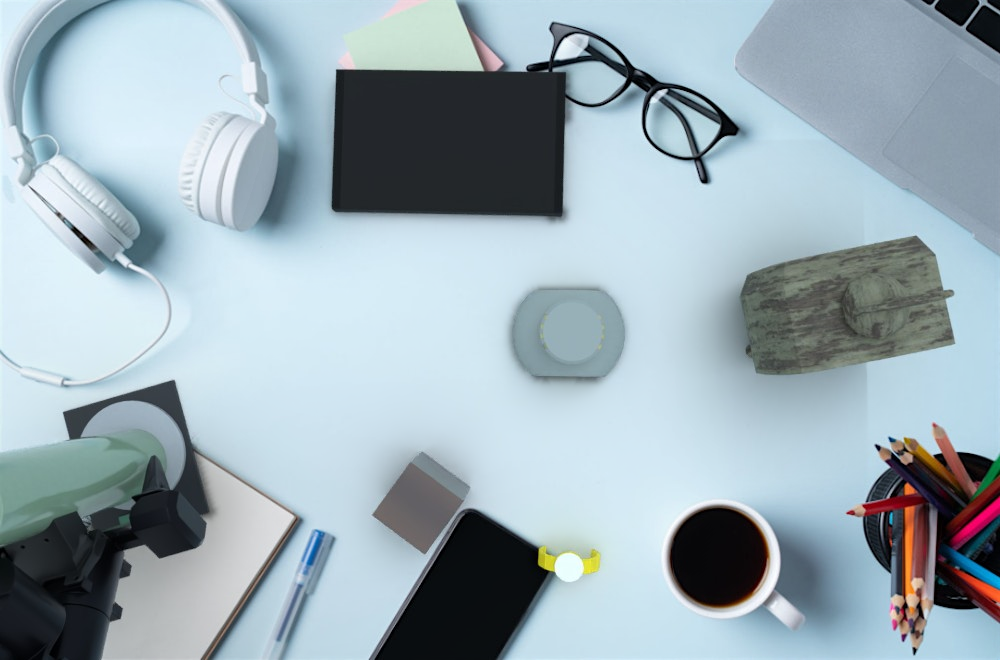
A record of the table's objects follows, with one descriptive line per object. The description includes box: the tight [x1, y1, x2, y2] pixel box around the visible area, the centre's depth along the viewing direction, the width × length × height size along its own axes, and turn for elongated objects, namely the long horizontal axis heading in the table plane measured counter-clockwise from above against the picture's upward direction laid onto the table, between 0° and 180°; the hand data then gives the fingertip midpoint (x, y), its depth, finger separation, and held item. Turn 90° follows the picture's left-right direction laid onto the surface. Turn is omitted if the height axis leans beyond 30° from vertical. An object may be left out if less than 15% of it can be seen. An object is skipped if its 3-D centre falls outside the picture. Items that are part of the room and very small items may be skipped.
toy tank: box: [739, 235, 956, 376], centre depth 66 cm, size 14×9×25 cm, turn 101°
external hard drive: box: [331, 68, 567, 217], centre depth 79 cm, size 14×23×3 cm, turn 88°
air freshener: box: [512, 289, 626, 378], centre depth 75 cm, size 11×8×10 cm
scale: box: [62, 379, 211, 530], centre depth 80 cm, size 14×12×2 cm
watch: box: [537, 545, 601, 583], centre depth 76 cm, size 6×3×6 cm, turn 87°
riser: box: [371, 451, 471, 555], centre depth 75 cm, size 6×6×9 cm
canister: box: [0, 429, 167, 548], centre depth 66 cm, size 7×7×26 cm
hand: (110, 470), depth 75 cm, fingers open, 9 cm apart
